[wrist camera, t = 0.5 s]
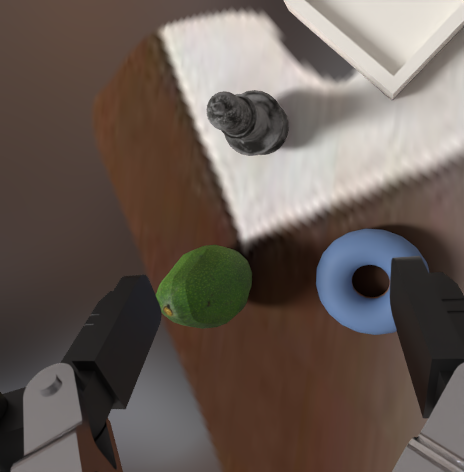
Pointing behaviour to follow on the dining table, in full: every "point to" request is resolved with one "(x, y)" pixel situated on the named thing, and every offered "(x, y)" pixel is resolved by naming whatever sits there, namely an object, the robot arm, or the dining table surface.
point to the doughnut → (342, 269)
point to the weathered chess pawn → (249, 121)
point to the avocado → (206, 287)
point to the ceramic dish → (383, 34)
